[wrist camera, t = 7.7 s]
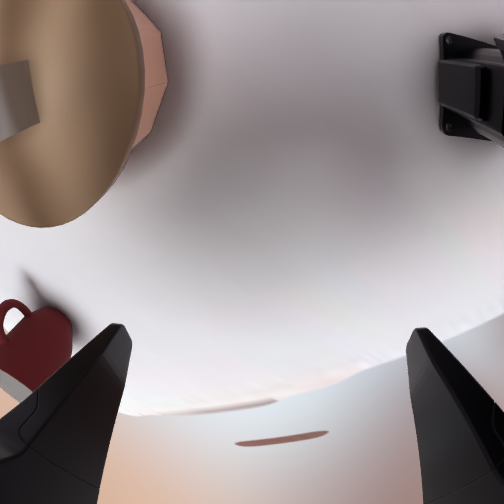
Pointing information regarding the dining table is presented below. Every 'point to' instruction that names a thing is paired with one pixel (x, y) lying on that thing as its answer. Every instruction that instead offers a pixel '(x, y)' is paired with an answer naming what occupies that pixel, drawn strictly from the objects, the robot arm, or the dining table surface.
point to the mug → (32, 348)
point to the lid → (65, 105)
